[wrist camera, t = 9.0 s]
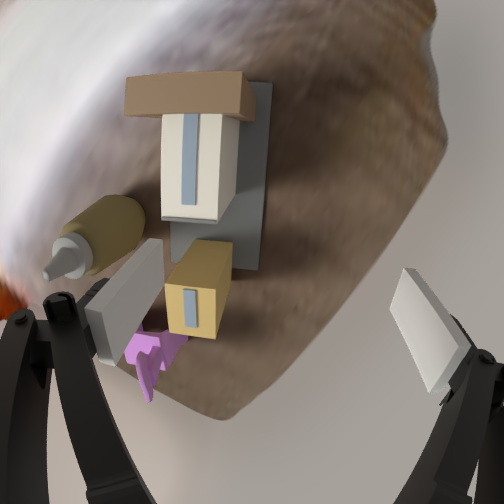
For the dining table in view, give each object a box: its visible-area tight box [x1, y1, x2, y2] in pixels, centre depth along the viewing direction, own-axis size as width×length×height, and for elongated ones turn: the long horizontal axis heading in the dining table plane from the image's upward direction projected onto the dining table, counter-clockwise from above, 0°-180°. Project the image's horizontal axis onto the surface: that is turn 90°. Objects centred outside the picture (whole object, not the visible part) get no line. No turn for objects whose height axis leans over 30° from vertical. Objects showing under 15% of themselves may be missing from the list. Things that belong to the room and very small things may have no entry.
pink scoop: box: [124, 322, 188, 403], centre depth 38 cm, size 8×9×15 cm
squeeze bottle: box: [42, 195, 146, 281], centre depth 30 cm, size 8×8×18 cm
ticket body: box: [124, 71, 256, 224], centre depth 26 cm, size 12×8×16 cm
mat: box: [170, 82, 273, 270], centre depth 35 cm, size 24×12×1 cm, turn 176°
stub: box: [165, 239, 233, 339], centre depth 34 cm, size 6×5×12 cm
